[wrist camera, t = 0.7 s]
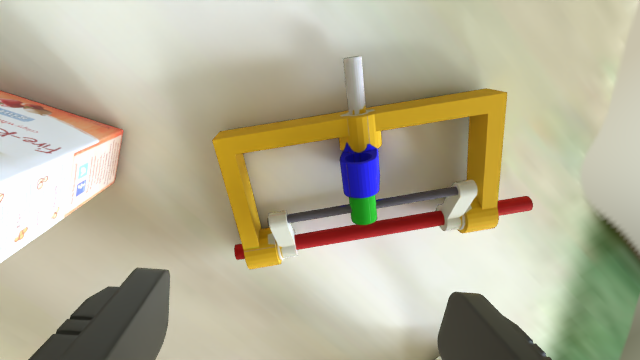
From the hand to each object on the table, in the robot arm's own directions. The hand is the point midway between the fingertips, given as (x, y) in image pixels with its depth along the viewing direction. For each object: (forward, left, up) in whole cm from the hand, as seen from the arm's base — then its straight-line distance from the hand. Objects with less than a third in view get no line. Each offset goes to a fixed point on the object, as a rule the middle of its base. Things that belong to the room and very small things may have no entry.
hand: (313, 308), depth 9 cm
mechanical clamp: (-2, +7, -22) cm, 23 cm away
